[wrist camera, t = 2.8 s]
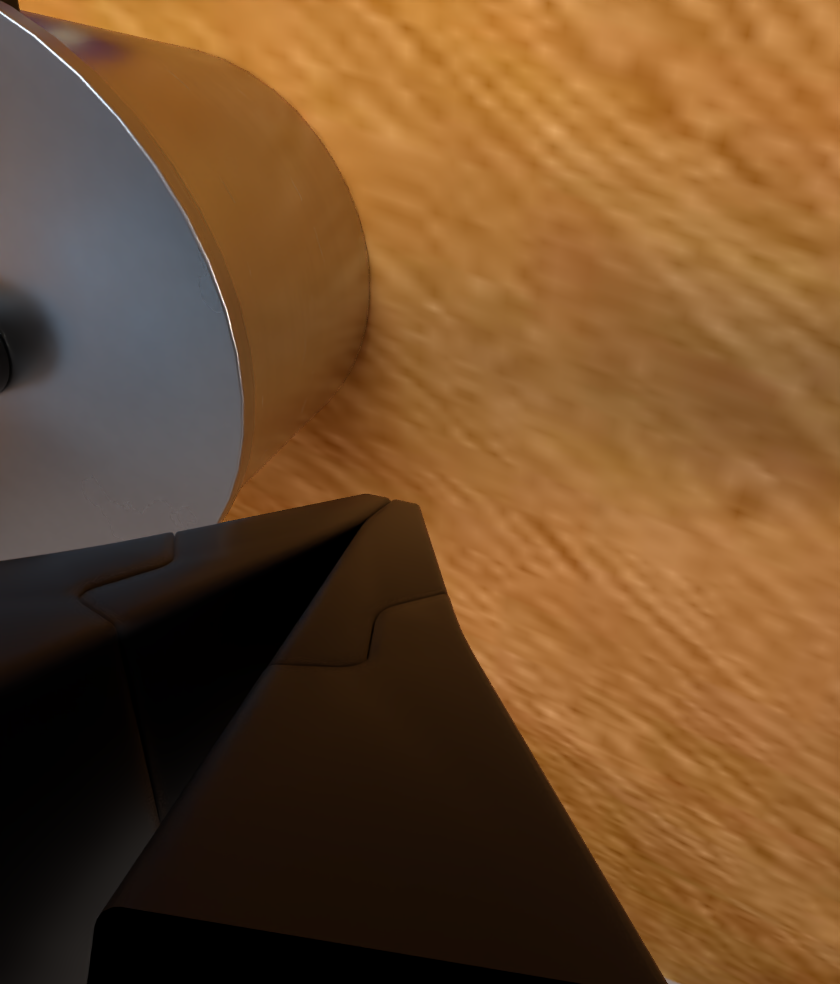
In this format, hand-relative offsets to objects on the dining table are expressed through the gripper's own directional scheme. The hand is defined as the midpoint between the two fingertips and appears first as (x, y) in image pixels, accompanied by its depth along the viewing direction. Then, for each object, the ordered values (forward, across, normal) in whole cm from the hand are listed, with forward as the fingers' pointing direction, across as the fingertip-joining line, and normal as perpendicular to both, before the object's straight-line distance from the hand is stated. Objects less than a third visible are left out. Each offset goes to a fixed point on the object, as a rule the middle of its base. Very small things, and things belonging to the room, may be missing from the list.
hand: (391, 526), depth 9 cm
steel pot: (+13, -11, 0) cm, 17 cm away
